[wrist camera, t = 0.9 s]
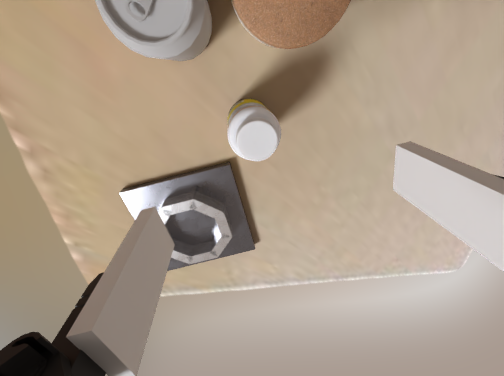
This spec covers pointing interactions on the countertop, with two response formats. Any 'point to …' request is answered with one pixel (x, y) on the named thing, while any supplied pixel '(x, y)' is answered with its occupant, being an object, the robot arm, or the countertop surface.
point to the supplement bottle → (253, 130)
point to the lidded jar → (289, 20)
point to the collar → (196, 213)
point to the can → (160, 26)
